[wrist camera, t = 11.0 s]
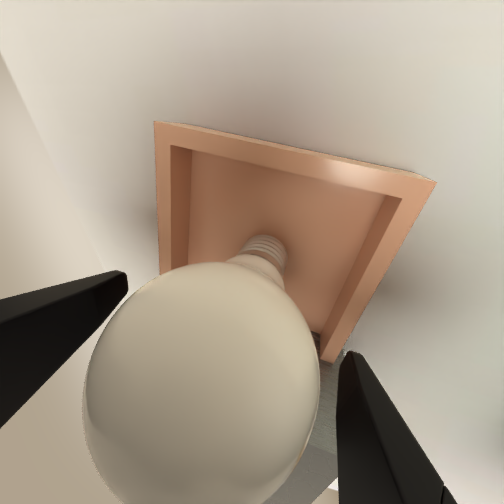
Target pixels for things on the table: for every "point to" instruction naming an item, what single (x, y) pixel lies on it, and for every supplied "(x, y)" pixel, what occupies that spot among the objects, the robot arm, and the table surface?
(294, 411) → the lightbulb
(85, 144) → the table surface
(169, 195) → the dish
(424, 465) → the robot arm
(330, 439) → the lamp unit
